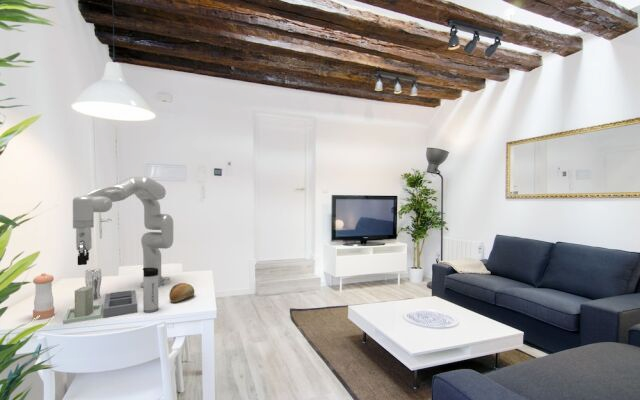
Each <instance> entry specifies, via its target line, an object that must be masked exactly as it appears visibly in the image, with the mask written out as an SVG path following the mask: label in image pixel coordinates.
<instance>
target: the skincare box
mask: <svg viewBox="0 0 640 400" xmlns="http://www.w3.org/2000/svg"><path fill="white" fill-rule="evenodd" d="M93 306H94V301H93V287H86V286H81V287H79V288H77V289H76V290H74V308H75V312H74V318H77V317H84V316H90V315H92V314H93V313H94V309H93Z"/></svg>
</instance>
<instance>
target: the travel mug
mask: <svg viewBox="0 0 640 400" xmlns="http://www.w3.org/2000/svg"><path fill="white" fill-rule="evenodd" d="M143 270H144V271H143ZM142 271H143V273H142V275H143V274H144V275H143V279H142V280H143V282H142V283H143V287H142V288H143V294H142V295H143V299H142V300H143V302H142V303H143V309H142V310H143V312H144V313H154V312H157V311H158V310H159V286H158V269H157V268H142Z"/></svg>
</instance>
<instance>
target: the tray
mask: <svg viewBox="0 0 640 400" xmlns="http://www.w3.org/2000/svg"><path fill="white" fill-rule="evenodd" d="M93 310H98V313H97V314H89V315H88V316H84V317H77V318H75V317H72V318H70V316H71V313H72V314H73V313H75V307H74V308H73V307H72V308H68V309H67V311H66V313H65V316H64V318H63V319H62V324H63V325H64V324H65V325H67V324H71V323H77V322H84V321H90V320H96V319H101V317H102V314H103V313H102V312H103V304H102V303H101V304H96V305H94V304H93Z"/></svg>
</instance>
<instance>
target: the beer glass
mask: <svg viewBox="0 0 640 400" xmlns="http://www.w3.org/2000/svg"><path fill="white" fill-rule="evenodd" d="M102 279H103V276H102V269H101V268H91V269H86V270H85V274H84V283H85V287H93V302H94V301H98V300H100V299H101V298H102V297H101V291H100V290H101V285H102Z"/></svg>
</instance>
